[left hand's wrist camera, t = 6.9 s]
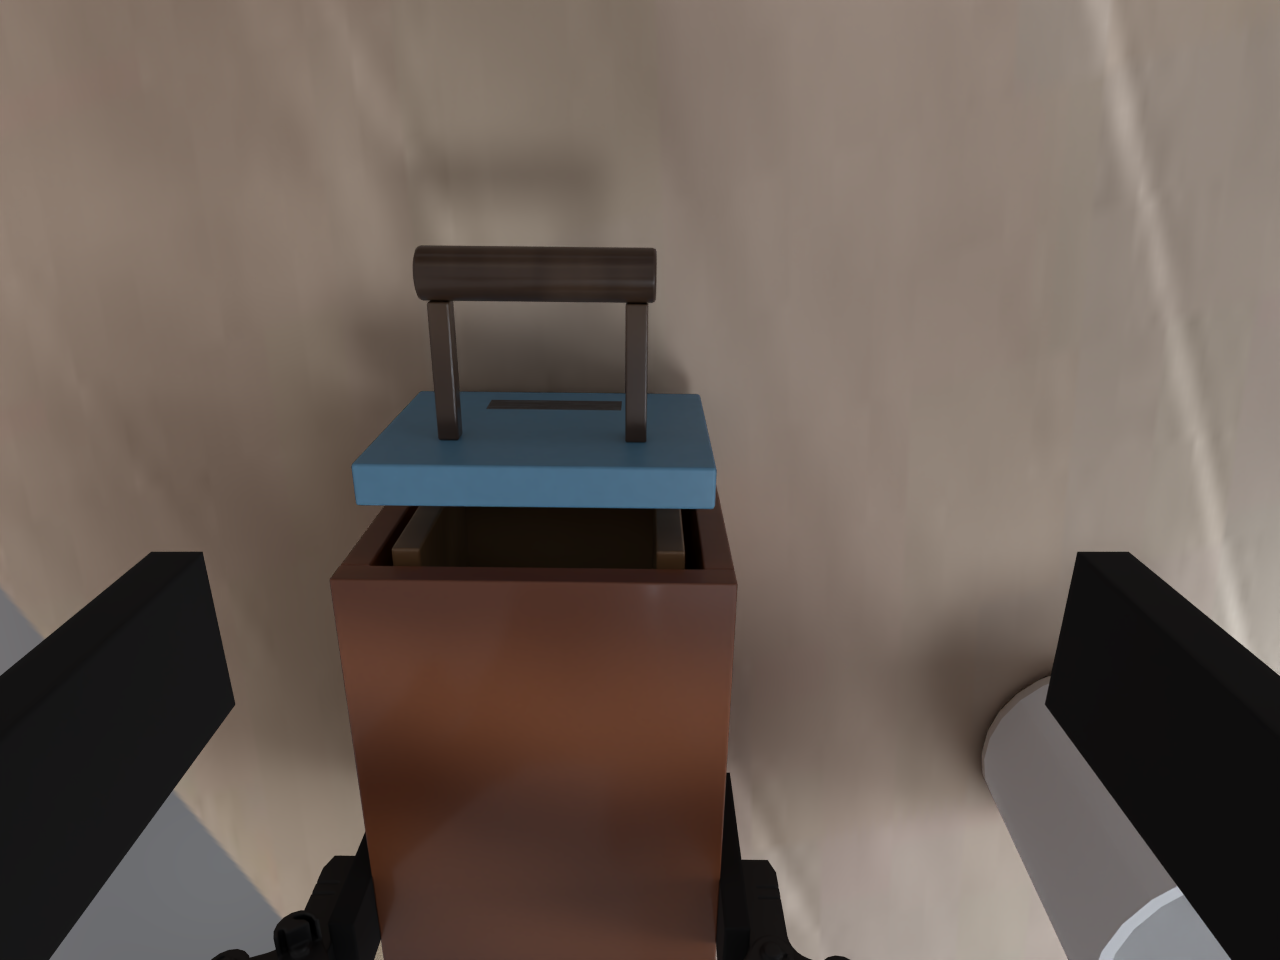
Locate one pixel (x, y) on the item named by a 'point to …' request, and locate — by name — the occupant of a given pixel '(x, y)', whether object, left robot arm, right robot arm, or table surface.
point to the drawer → (540, 433)
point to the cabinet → (541, 749)
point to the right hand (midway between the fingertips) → (561, 799)
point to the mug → (1084, 846)
